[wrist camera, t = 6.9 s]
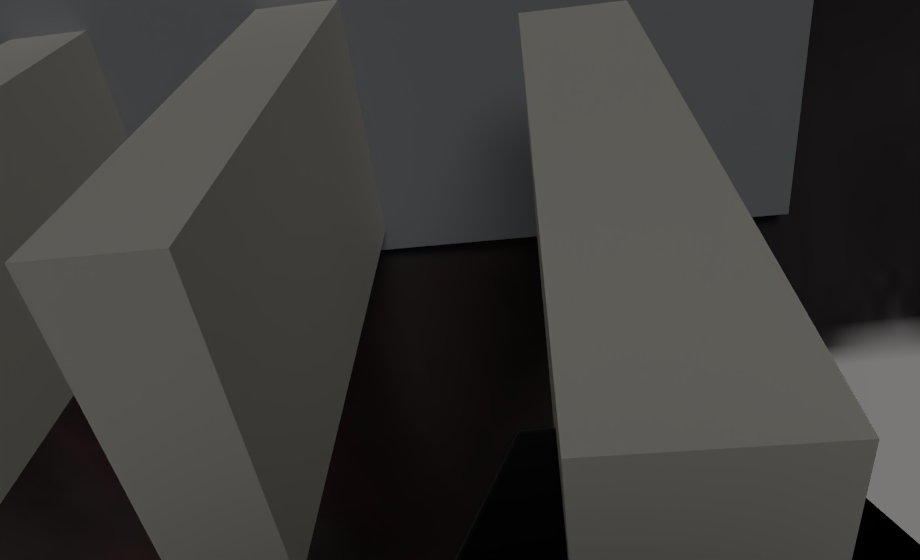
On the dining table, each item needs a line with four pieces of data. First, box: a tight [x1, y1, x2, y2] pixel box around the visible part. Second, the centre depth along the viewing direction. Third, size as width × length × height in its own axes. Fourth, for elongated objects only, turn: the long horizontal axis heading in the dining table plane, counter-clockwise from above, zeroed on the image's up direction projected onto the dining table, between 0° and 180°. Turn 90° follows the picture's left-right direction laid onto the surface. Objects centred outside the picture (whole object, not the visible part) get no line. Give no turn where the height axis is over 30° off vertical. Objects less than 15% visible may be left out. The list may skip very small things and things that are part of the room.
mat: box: [0, 0, 814, 250], centre depth 16 cm, size 9×29×1 cm, turn 97°
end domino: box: [518, 0, 879, 560], centre depth 9 cm, size 2×5×9 cm, turn 8°
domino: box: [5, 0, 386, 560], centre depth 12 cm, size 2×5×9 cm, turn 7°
